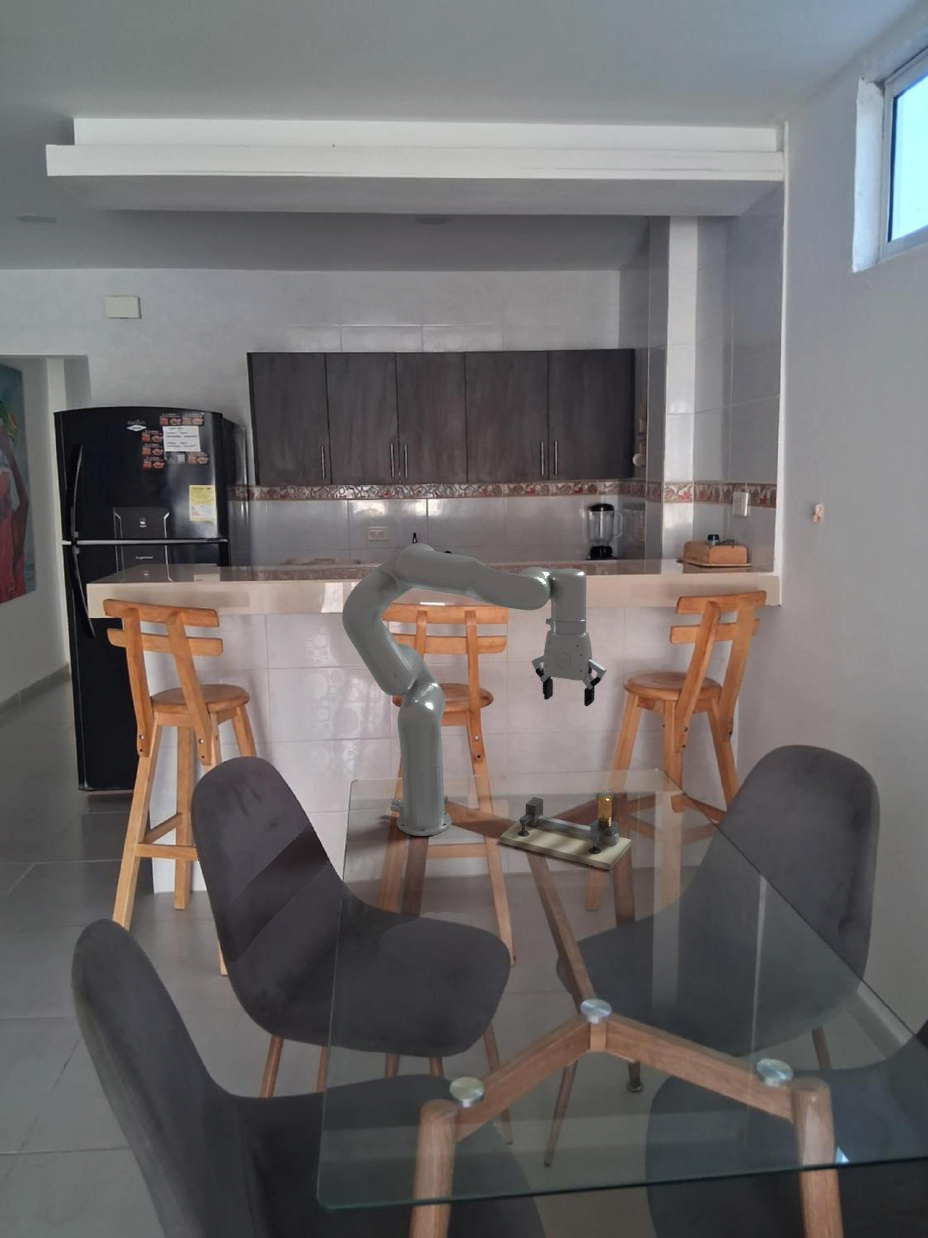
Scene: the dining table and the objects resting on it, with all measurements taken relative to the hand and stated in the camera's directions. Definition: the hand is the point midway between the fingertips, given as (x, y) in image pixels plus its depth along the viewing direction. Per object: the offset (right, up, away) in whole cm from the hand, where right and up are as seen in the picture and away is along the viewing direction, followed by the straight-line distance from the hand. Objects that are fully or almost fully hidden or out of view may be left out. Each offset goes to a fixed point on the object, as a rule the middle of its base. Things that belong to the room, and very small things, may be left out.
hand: (568, 701), depth 209 cm
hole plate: (-1, -31, -1) cm, 31 cm away
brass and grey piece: (+7, -30, -4) cm, 31 cm away
